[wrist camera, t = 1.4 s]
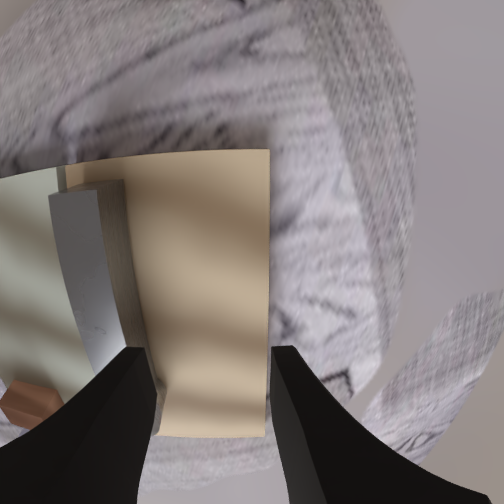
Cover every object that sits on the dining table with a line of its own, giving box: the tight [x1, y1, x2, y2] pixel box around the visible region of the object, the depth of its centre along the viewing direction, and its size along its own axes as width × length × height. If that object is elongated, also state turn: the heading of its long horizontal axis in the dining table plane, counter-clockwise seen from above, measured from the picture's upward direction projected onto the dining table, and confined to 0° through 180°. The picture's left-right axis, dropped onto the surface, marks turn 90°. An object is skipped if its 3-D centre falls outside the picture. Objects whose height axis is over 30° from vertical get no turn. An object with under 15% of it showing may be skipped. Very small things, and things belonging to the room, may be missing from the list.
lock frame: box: [0, 149, 270, 438], centre depth 15 cm, size 20×23×4 cm
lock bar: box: [48, 179, 167, 436], centre depth 14 cm, size 15×3×3 cm, turn 0°
